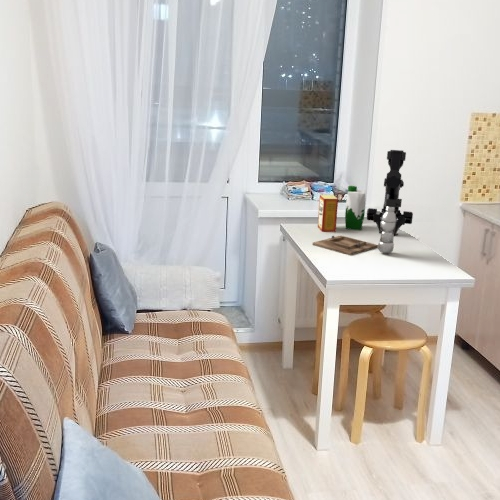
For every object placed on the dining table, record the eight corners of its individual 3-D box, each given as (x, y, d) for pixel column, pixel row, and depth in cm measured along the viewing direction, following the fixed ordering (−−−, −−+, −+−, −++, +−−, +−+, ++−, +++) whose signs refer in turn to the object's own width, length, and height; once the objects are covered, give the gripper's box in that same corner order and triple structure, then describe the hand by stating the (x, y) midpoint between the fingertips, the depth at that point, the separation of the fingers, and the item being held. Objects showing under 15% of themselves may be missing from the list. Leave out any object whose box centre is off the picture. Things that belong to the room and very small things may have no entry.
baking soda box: (317, 226, 317) (319, 194, 312) (330, 226, 318) (333, 194, 313) (322, 231, 308) (324, 198, 303) (335, 231, 309) (338, 198, 304)
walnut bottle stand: (340, 237, 299) (341, 231, 298) (377, 247, 285) (378, 240, 285) (312, 244, 285) (313, 238, 284) (350, 255, 272) (350, 248, 271)
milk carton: (344, 224, 322) (348, 184, 317) (363, 226, 321) (367, 186, 315) (343, 229, 314) (346, 187, 309) (362, 230, 313) (366, 189, 307)
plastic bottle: (392, 250, 279) (397, 204, 273) (393, 255, 273) (399, 208, 267) (376, 249, 280) (381, 203, 274) (378, 254, 273) (383, 207, 267)
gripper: (369, 189, 275) (364, 221, 267) (415, 192, 271) (412, 225, 263) (368, 203, 284) (364, 234, 277) (413, 207, 280) (410, 239, 273)
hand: (387, 233), depth 272 cm, fingers closed on plastic bottle, 6 cm apart
